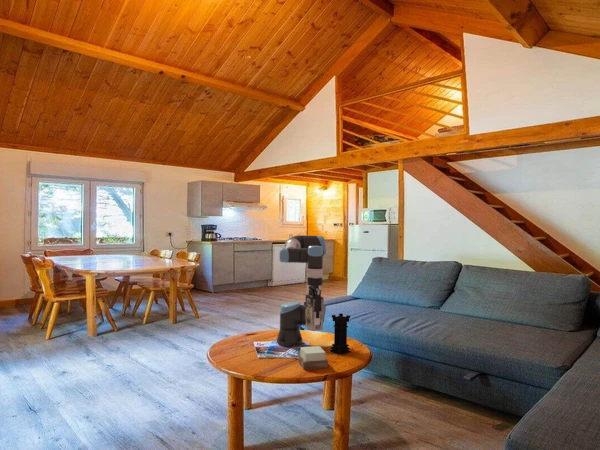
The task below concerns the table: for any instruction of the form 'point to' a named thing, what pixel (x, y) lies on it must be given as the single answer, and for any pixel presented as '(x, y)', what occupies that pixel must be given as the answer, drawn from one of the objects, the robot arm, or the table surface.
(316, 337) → the table surface
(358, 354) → the table surface
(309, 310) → the coffee box
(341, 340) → the chess piece
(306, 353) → the sage block
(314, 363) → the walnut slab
